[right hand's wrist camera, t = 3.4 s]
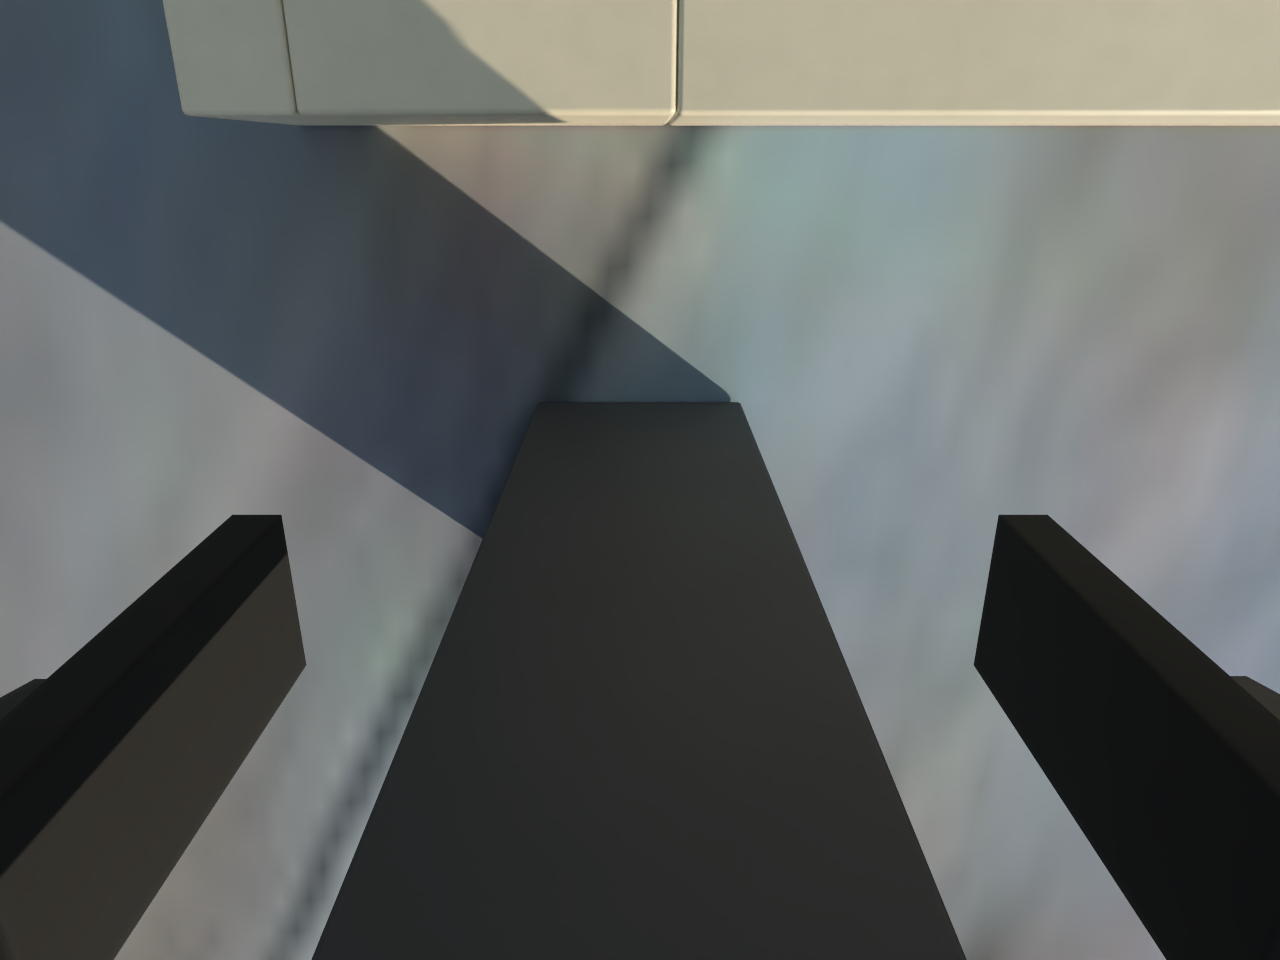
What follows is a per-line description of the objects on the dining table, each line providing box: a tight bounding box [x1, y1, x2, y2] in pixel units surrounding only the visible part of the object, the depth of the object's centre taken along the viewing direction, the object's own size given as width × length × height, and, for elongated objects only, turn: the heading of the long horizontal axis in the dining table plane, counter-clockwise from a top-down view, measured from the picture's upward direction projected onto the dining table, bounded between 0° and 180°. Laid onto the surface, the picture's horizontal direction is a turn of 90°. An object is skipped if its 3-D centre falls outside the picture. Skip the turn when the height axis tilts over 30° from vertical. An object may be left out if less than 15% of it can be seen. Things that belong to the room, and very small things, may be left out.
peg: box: [312, 402, 966, 960], centre depth 11 cm, size 4×4×14 cm
